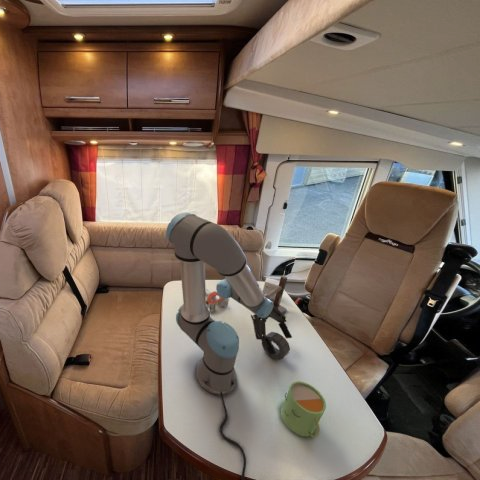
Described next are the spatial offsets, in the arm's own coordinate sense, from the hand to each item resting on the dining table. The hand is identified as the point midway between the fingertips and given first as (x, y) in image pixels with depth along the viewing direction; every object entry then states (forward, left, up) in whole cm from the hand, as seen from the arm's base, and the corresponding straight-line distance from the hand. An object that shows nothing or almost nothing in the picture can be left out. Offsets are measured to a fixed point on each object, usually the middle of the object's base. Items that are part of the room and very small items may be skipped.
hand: (281, 345), depth 99 cm
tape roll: (+2, +1, -7) cm, 7 cm away
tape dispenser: (+37, +20, -4) cm, 42 cm away
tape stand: (+28, -9, -7) cm, 30 cm away
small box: (+42, -16, -7) cm, 45 cm away
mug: (-25, +5, -7) cm, 27 cm away
